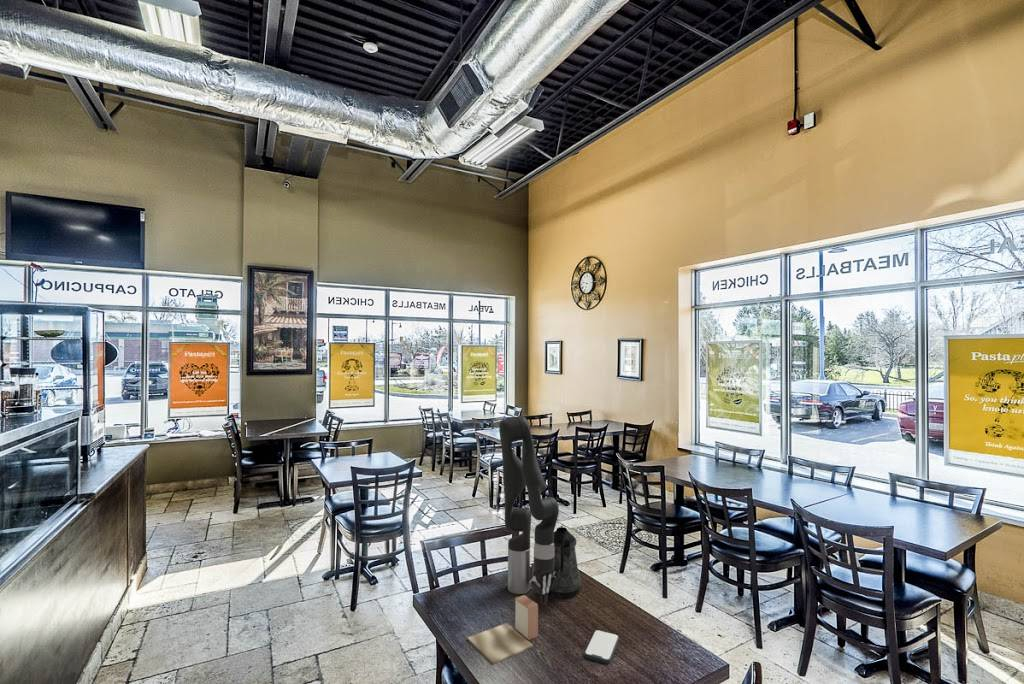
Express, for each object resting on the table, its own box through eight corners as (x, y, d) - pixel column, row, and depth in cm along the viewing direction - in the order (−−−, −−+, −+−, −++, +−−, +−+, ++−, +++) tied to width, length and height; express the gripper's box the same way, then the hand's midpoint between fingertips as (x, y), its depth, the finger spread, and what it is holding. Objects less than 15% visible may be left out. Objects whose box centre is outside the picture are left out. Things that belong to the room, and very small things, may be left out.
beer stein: (563, 575, 216) (564, 518, 216) (594, 594, 200) (595, 532, 200) (533, 585, 206) (534, 526, 207) (563, 606, 190) (564, 541, 191)
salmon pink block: (524, 625, 177) (524, 594, 177) (537, 636, 170) (538, 604, 170) (514, 629, 174) (515, 598, 174) (528, 640, 168) (528, 608, 168)
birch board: (506, 624, 177) (506, 622, 177) (533, 647, 164) (533, 645, 164) (467, 639, 168) (467, 637, 168) (492, 664, 155) (492, 662, 155)
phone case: (594, 633, 173) (582, 658, 159) (595, 628, 173) (582, 653, 159) (620, 639, 170) (610, 666, 155) (620, 635, 170) (610, 660, 155)
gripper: (551, 546, 184) (551, 593, 183) (523, 554, 176) (522, 603, 176) (564, 553, 178) (564, 602, 177) (535, 562, 170) (535, 612, 170)
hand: (543, 602), depth 177 cm, fingers closed
